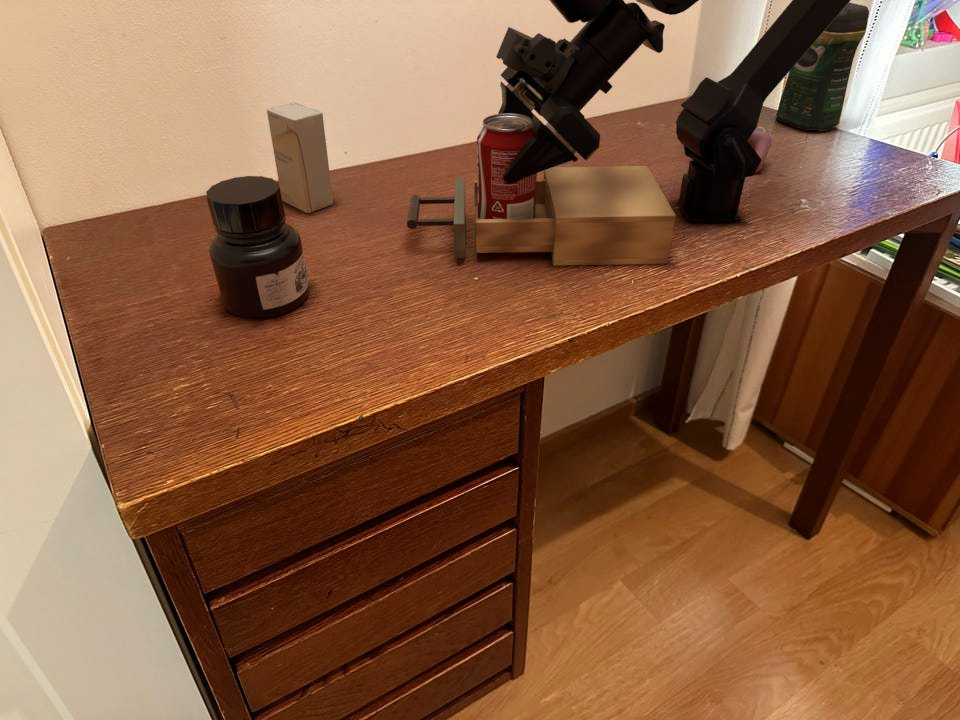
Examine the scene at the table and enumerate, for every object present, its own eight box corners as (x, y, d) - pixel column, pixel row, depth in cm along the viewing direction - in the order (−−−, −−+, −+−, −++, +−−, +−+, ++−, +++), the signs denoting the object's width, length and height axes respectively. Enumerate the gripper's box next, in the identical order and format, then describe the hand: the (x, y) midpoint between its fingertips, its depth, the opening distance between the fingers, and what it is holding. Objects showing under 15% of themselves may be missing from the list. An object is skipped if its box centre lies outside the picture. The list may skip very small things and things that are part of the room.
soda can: (543, 230, 80) (548, 127, 73) (488, 239, 79) (487, 134, 72) (523, 207, 86) (525, 109, 78) (471, 215, 84) (469, 115, 77)
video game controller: (762, 177, 101) (778, 128, 100) (758, 173, 97) (775, 122, 96) (697, 164, 106) (711, 117, 104) (690, 159, 102) (705, 111, 100)
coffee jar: (846, 128, 114) (884, 3, 102) (809, 135, 111) (845, 8, 100) (802, 112, 121) (833, -7, 110) (766, 118, 118) (795, -3, 107)
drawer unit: (553, 265, 78) (556, 217, 74) (541, 211, 89) (543, 167, 86) (667, 263, 78) (676, 215, 74) (641, 209, 89) (647, 165, 86)
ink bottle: (288, 326, 68) (265, 214, 61) (206, 318, 70) (173, 207, 62) (323, 277, 76) (306, 172, 69) (248, 271, 77) (223, 167, 70)
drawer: (406, 258, 77) (403, 224, 75) (413, 209, 88) (411, 177, 86) (560, 256, 78) (562, 222, 75) (549, 207, 88) (550, 175, 86)
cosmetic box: (281, 201, 92) (263, 109, 85) (308, 191, 95) (293, 101, 88) (309, 214, 89) (292, 119, 82) (336, 204, 92) (323, 110, 84)
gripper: (520, -17, 76) (426, 94, 81) (579, 15, 61) (461, 149, 66) (581, 54, 82) (491, 154, 87) (649, 99, 68) (537, 216, 72)
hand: (494, 165), depth 78 cm, fingers open, 9 cm apart
